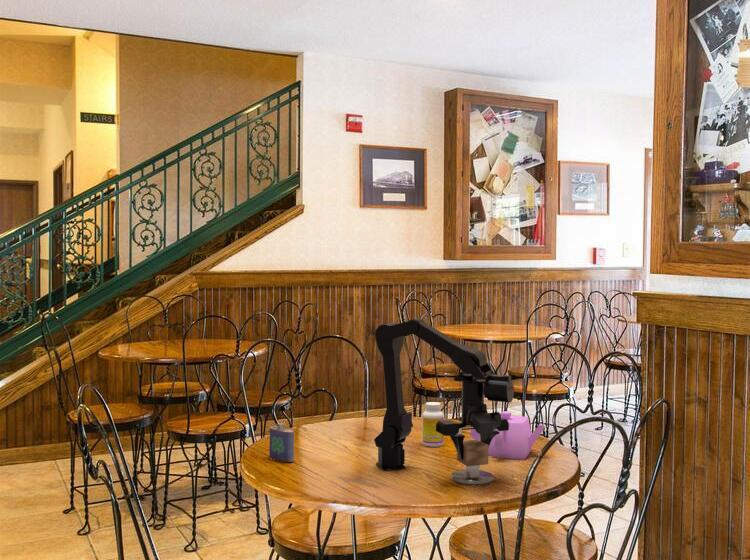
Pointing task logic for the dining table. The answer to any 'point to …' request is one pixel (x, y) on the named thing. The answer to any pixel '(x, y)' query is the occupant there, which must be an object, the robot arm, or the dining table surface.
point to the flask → (281, 443)
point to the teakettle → (512, 438)
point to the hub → (472, 476)
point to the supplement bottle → (432, 425)
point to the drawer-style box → (474, 453)
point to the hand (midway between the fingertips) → (472, 458)
